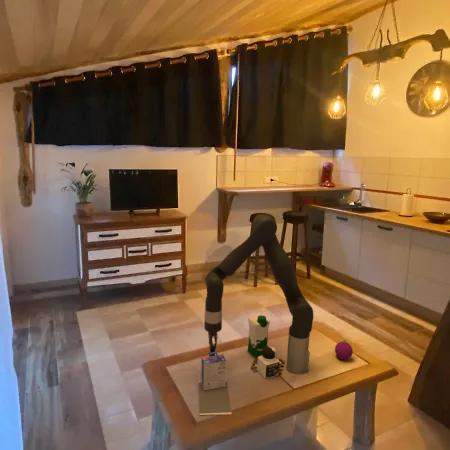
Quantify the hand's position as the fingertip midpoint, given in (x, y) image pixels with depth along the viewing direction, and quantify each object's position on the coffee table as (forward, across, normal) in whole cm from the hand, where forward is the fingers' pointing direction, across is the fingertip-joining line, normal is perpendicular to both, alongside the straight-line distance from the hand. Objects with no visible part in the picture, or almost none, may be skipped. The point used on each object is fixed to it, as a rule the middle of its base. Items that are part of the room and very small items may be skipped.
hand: (212, 355), depth 162 cm
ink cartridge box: (+9, -9, 0) cm, 12 cm away
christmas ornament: (+9, +9, -64) cm, 65 cm away
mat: (+9, -16, 0) cm, 18 cm away
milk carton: (+9, +15, -23) cm, 29 cm away
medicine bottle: (+9, -1, -25) cm, 27 cm away
